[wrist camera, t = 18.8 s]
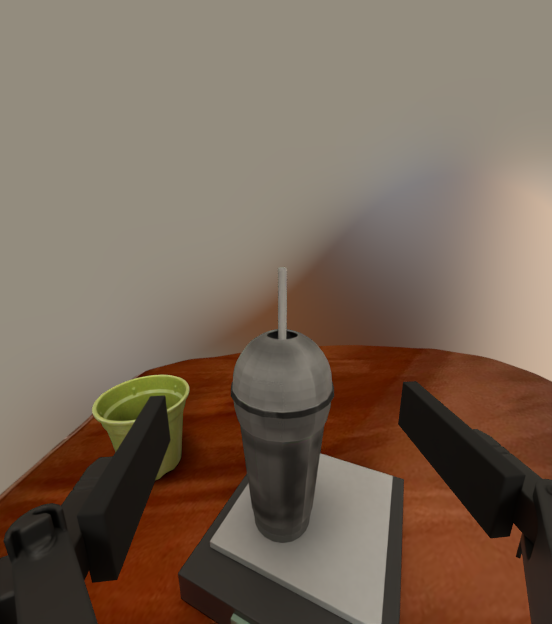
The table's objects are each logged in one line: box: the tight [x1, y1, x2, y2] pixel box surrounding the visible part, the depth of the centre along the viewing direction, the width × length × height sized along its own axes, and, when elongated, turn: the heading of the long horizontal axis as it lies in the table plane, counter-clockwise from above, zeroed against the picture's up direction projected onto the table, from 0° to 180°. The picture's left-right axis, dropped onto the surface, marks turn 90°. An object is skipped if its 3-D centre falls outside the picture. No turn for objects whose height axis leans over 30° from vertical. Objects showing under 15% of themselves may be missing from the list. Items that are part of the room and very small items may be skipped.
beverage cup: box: [231, 267, 334, 543], centre depth 20 cm, size 7×7×20 cm
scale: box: [178, 453, 404, 624], centre depth 23 cm, size 14×15×3 cm
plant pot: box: [92, 375, 189, 480], centre depth 31 cm, size 9×9×9 cm
